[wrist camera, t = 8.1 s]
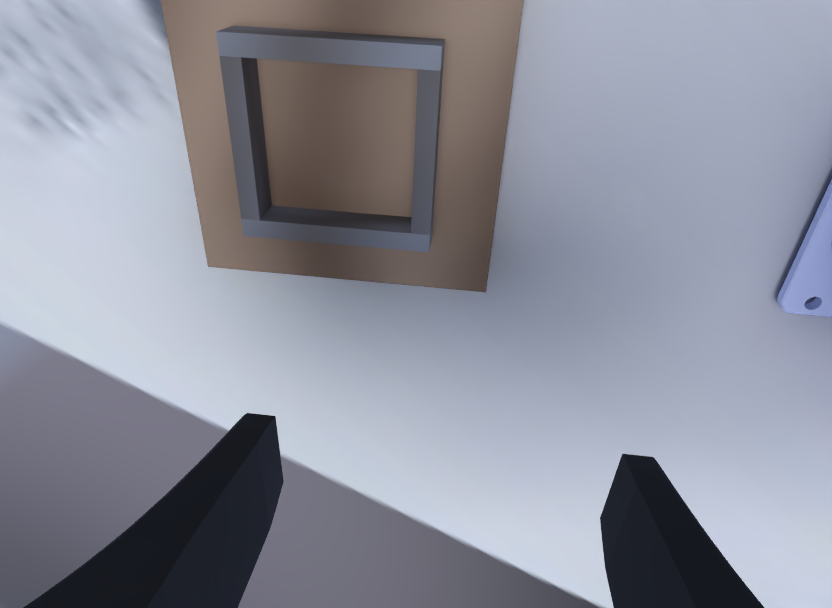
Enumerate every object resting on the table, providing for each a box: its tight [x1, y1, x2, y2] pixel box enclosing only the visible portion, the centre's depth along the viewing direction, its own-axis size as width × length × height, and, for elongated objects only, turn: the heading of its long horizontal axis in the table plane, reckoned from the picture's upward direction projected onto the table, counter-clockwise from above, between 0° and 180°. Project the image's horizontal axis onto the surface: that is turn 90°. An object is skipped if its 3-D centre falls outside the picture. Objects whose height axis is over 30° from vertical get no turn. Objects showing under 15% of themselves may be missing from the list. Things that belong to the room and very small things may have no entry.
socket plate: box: [161, 0, 523, 292], centre depth 17 cm, size 10×10×2 cm
